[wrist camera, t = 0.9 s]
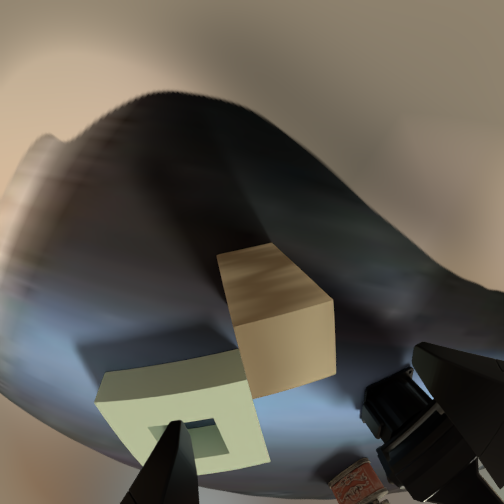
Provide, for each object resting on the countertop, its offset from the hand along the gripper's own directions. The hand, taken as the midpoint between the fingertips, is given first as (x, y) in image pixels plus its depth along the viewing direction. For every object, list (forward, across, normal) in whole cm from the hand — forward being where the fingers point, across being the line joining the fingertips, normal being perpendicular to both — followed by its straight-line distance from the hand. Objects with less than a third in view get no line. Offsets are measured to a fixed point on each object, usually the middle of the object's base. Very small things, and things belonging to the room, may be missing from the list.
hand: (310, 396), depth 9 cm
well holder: (+12, +8, +12) cm, 19 cm away
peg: (+12, 0, 0) cm, 13 cm away
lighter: (+13, -9, +37) cm, 40 cm away
